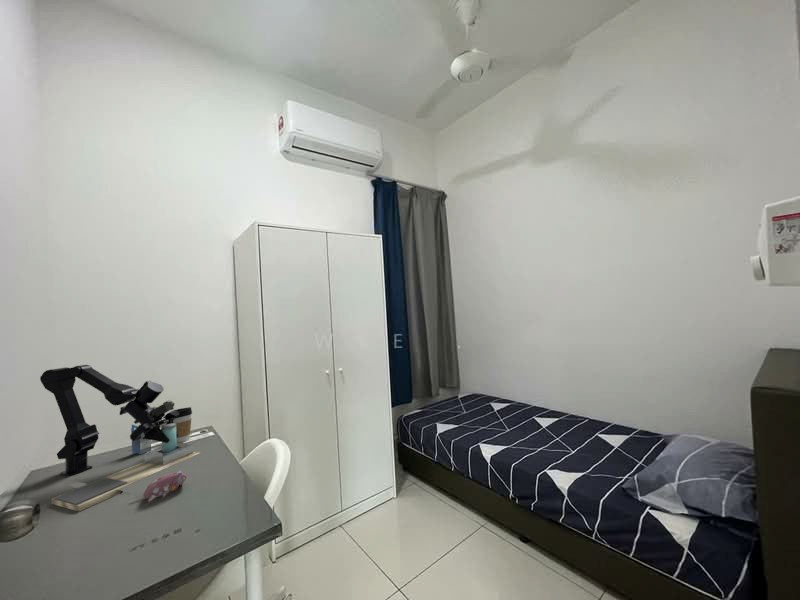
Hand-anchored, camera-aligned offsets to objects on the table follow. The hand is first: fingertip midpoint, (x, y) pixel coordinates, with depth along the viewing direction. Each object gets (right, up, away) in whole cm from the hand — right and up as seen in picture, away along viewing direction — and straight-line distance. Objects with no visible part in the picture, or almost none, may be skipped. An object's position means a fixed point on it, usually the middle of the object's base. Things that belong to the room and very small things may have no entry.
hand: (173, 439), depth 116 cm
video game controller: (+16, -6, -24) cm, 29 cm away
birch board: (-4, -8, -12) cm, 15 cm away
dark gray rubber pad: (-8, -6, -22) cm, 25 cm away
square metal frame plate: (-1, -7, -1) cm, 7 cm away
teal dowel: (-1, -7, -1) cm, 7 cm away
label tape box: (-20, -10, +9) cm, 24 cm away
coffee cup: (-10, -10, +18) cm, 23 cm away
